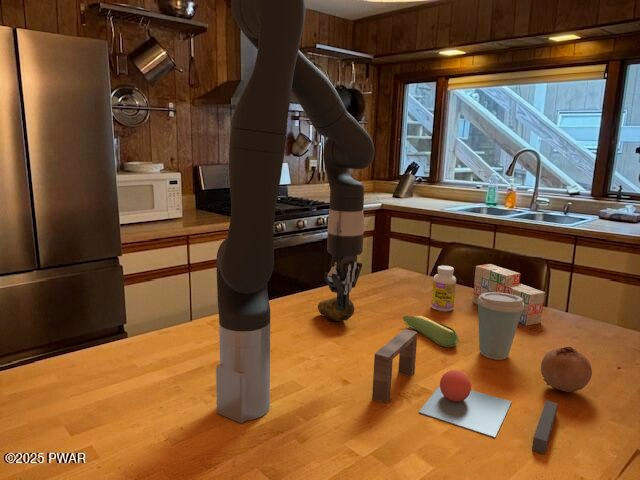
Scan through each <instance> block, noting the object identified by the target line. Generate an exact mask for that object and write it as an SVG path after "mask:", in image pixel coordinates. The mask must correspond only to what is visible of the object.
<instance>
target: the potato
mask: <svg viewBox="0 0 640 480" xmlns="http://www.w3.org/2000/svg"><path fill="white" fill-rule="evenodd" d="M317 310H318V312H319V313H320V315H322V317H323V316H324V317H326V318H328V319H330V320H332V321H336V322H342V321H348V320H349V319H350V318H351V317H352V316H353V315H354V313H355V305H354V303H353V301H352V300H351V299H350V298H349V308H348V309H347V310H345V311H342V310H338V309H337V296H333V297H331V298H329V299H324V300H322V301H320V302H318V305H317Z"/></svg>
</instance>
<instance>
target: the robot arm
mask: <svg viewBox="0 0 640 480" xmlns="http://www.w3.org/2000/svg"><path fill="white" fill-rule="evenodd" d="M230 2H231V4H230V5H231V12H232V16H233V19H234V21H235V23H236V25H237V26H238V28H239V29H240V31H241V33H243V34H244V36H245V37H246V38H247V40H249V42H250V43H251V44H252V45H253V46H254V48H256V50H257V53H256V58H255V62H254V66H253V69H252V73H251V75H250V77H249V79H248V81H247V84H246V85H245V86H244V89H243V92H242V93H241V96H240V97H239V100H238V102H237V104H236V106H235V108H234V111H233V114H232V119H231V126H230V135H229V136H230V137H229V143H228V144H229V145H228V146H229V147H228V177H229V191H230V203H231V204H230V205H231V206H230V208H231V209H230V221H229V226H228V231H227V237H226V238H224V239H223V241H222V242H221V243H220V244H219V247H218V249H217V253H216V288H217V289H216V290H217V291H216V292H217V296H216V297H217V308H218V323H219V324H218V325H219V327H218V328H219V329H218V330H219V331H218V332H219V334H218V335H219V363H218V365H216V367H215V375H216V376H215V379H216V383H215V384H216V413H217V414H219V415H220V416H224V417H226V418H229V419H230V420H233V421H235V422H237V423H240V424H243V423H245V422H247V421H251V420H255V419H258V418H261V417H263V416H264V415H266V414H267V413H268V412H269V410H270V408H271V407H270V406H271V306H270V300H269V293H268V282H269V281H270V280H271V277H272V275H273V271H274V267H275V248H274V247H275V215H276V207H277V202H278V197H279V191H280V185H281V178H282V173H283V172H282V171H283V166H284V165H283V164H284V158H285V150H286V144H287V142H286V141H287V135H288V134H287V133H288V118H289V113H290V112H289V110H290V105H291V104H290V103H291V96H292V95H293V96H294V97H295V99H296V100H297V102H298V104H299V105H300V107H301V109H302V110H303V112H304V114H305V115H306V117H307V118H308V120H309V121H310V123H311V124H312V126H313V128H314V130H315V132H317V134H318V135H320V136H321V137H324V138H326V140H325V142H324V144H323V145H324V146H323V151H322V156H323V157H322V159H323V164H324V168H325V172H326V173H325V174H326V178H327V183H328V185H329V212H328V217H327V243H326V244H327V245H326V250H327V252H328V254H330V255H331V261H330V267H331V268H330V270H329V272H328V271H326V272H324V276H323V277H324V279H325V282H326V284H327V285H328V288H329V290H330V292H331V293H336V297H337V309H338V310H342V311H345V310H347V309H348V308H349V299H350V293H352V289H354V288H355V287H356V285H357V282H358V279H359V277H360V274H361V270H362V268H363V263H362V262H358V256H360V255H362V253H364V251H363V249H364V231H365V230H364V229H365V217H364V204H365V186H364V184H363V183H362V182H360V181H359V180H356V179H354V178H353V177H352V176H351V175H352V174H351V171H350V170H363V169H366V168H368V167H369V166H370V165H371V164H372V163H373V160H374V158H375V151H376V150H375V145H374V141H373V140H372V137H371V135H370V134H369V133H368V131H367V130H366V129H365V128H364V127H363V126H362V125H361V124H360V123H359V122H358V120H357V119H355V117H354V116H353V115H352V114H351V113H349V111H348V110H347V108H346V106H345V104H344V102H343V100H342V99H341V97H340V94H339V93H338V91H337V89H336V88H335V86H334V85H333V83H332V82H331V80H330V79H329V78H328V77H327V75H325V74H324V73H323V72H322V71H321V70H320V69H319V68H318V67H317V66H316V65H314V63H313V62H312V61H310V60H309V59H308V58H307V57H306V55H304V54H303V52H302V51H300V46H301V45H300V44H301V40H302V37H303V32H304V26H305V21H306V12H307V11H306V9H307V8H306V6H307V5H306V0H231V1H230Z"/></svg>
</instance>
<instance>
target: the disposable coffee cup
mask: <svg viewBox="0 0 640 480" xmlns="http://www.w3.org/2000/svg"><path fill="white" fill-rule="evenodd" d="M522 300H523V298H521V297H519V296H516V295H512V294H507V293H499V292H487V293H483V294H481V295H480V296H479V298H478V301H477V303H478V304H477V317H478V318H477V319H478V320H477V321H478V344H479V345H478V347H479V348H478V349H479V351H480V354H481V355H482V356H484V357H486V358H488V359H492V360H498V361H500V360H501V361H502V360H505V359H507V358H508V356H510V355H509V354H510V351H511V348H512V345H513V341H514V339H515V335H516V333H517V329H518V326H519V324H520V323H519V319H520V316H521V313H522V311H523V310H524V302H522Z"/></svg>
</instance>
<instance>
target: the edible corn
mask: <svg viewBox="0 0 640 480" xmlns="http://www.w3.org/2000/svg"><path fill="white" fill-rule="evenodd" d="M402 319H403V321H404V322H405V324H406V325H407V326H408V327H410V328H411V329H413V330H415V331H416V332H419V333H420V334H421V335H423V336H425V337H426V338H427V339H429V340H431V341H432V342H434V343H436V344H437V345H439V346H441V347H444V348H445V347H446V348H451V347H455V346H456V345H458V344H459V343H460V338H459V335H458V333H457V332H456V331H455V330H454V329H453V328H451V327H450V326H447V325H445V324H443V323H440V322H439V321H438V322H437V321H435V320H433V319H430V318H428V317H425V316H423V315H415V316H412V315H404V316H402Z"/></svg>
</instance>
